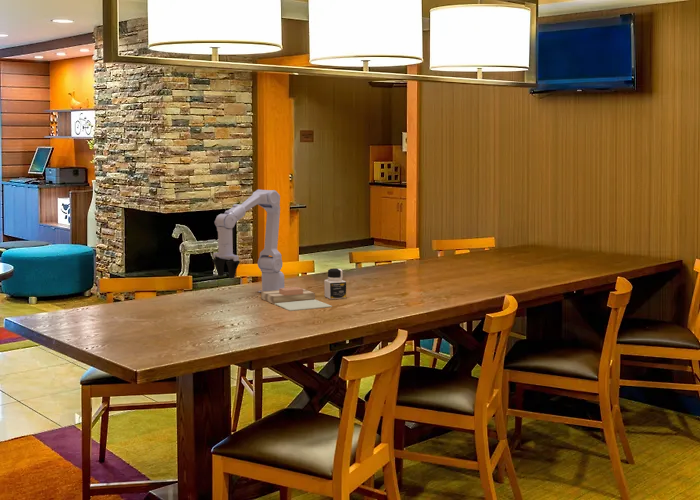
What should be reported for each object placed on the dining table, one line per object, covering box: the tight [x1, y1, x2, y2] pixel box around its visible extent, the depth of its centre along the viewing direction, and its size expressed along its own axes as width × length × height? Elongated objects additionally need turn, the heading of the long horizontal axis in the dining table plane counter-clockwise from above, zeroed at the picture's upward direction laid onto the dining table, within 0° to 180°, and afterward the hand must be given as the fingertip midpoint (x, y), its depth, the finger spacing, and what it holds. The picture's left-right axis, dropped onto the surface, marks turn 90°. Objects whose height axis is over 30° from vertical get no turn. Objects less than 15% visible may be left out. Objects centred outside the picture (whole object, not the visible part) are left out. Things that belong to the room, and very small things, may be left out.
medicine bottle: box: [323, 267, 347, 300], centre depth 375 cm, size 7×7×12 cm
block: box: [279, 286, 304, 295], centre depth 368 cm, size 6×8×2 cm
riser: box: [260, 288, 316, 305], centre depth 371 cm, size 14×18×3 cm
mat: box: [273, 299, 333, 312], centre depth 358 cm, size 16×18×1 cm
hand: (226, 276), depth 367 cm, fingers open, 7 cm apart
